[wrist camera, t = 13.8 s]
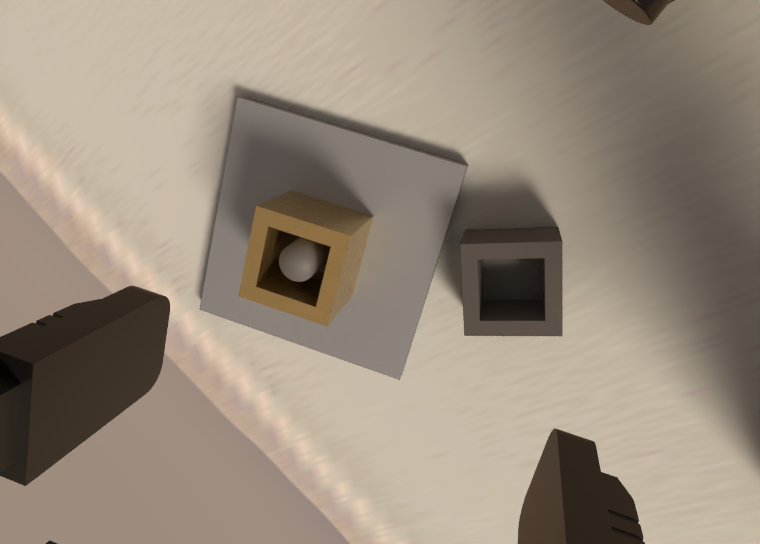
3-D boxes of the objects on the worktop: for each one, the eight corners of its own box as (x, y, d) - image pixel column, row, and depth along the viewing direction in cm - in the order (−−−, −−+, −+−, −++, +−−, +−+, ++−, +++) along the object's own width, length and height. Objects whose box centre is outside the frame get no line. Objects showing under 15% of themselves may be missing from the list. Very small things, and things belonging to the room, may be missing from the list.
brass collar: (373, 216, 41) (350, 236, 35) (352, 295, 43) (327, 326, 37) (291, 190, 42) (255, 205, 36) (274, 269, 44) (238, 296, 38)
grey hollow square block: (558, 227, 40) (562, 241, 36) (558, 313, 41) (562, 336, 38) (465, 230, 41) (460, 244, 37) (469, 314, 43) (464, 335, 39)
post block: (468, 164, 40) (459, 177, 34) (402, 373, 45) (385, 414, 39) (243, 97, 42) (200, 98, 36) (205, 305, 47) (163, 334, 41)
